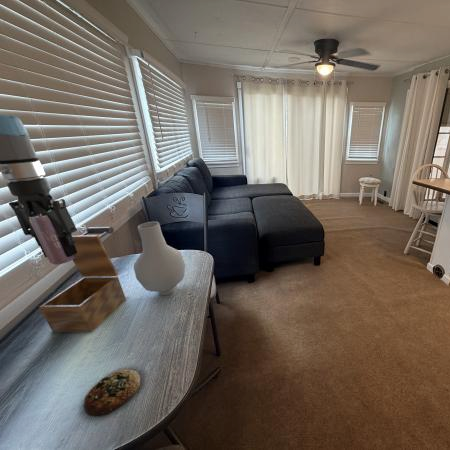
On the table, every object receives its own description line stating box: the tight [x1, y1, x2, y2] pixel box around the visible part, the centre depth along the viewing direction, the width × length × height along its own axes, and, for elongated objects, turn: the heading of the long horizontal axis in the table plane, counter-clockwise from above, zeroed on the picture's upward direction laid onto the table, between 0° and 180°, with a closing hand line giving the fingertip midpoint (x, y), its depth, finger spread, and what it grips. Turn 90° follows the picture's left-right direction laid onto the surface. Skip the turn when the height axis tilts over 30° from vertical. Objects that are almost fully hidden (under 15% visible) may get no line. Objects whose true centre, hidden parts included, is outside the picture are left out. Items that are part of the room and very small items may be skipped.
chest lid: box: [72, 226, 119, 278], centre depth 85 cm, size 17×13×10 cm
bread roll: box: [83, 369, 141, 418], centre depth 57 cm, size 11×11×5 cm
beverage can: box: [29, 211, 76, 265], centre depth 70 cm, size 6×6×15 cm
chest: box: [38, 276, 127, 333], centre depth 80 cm, size 16×13×11 cm
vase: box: [133, 221, 186, 296], centre depth 90 cm, size 17×16×28 cm
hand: (61, 254), depth 72 cm, fingers closed on beverage can, 6 cm apart
